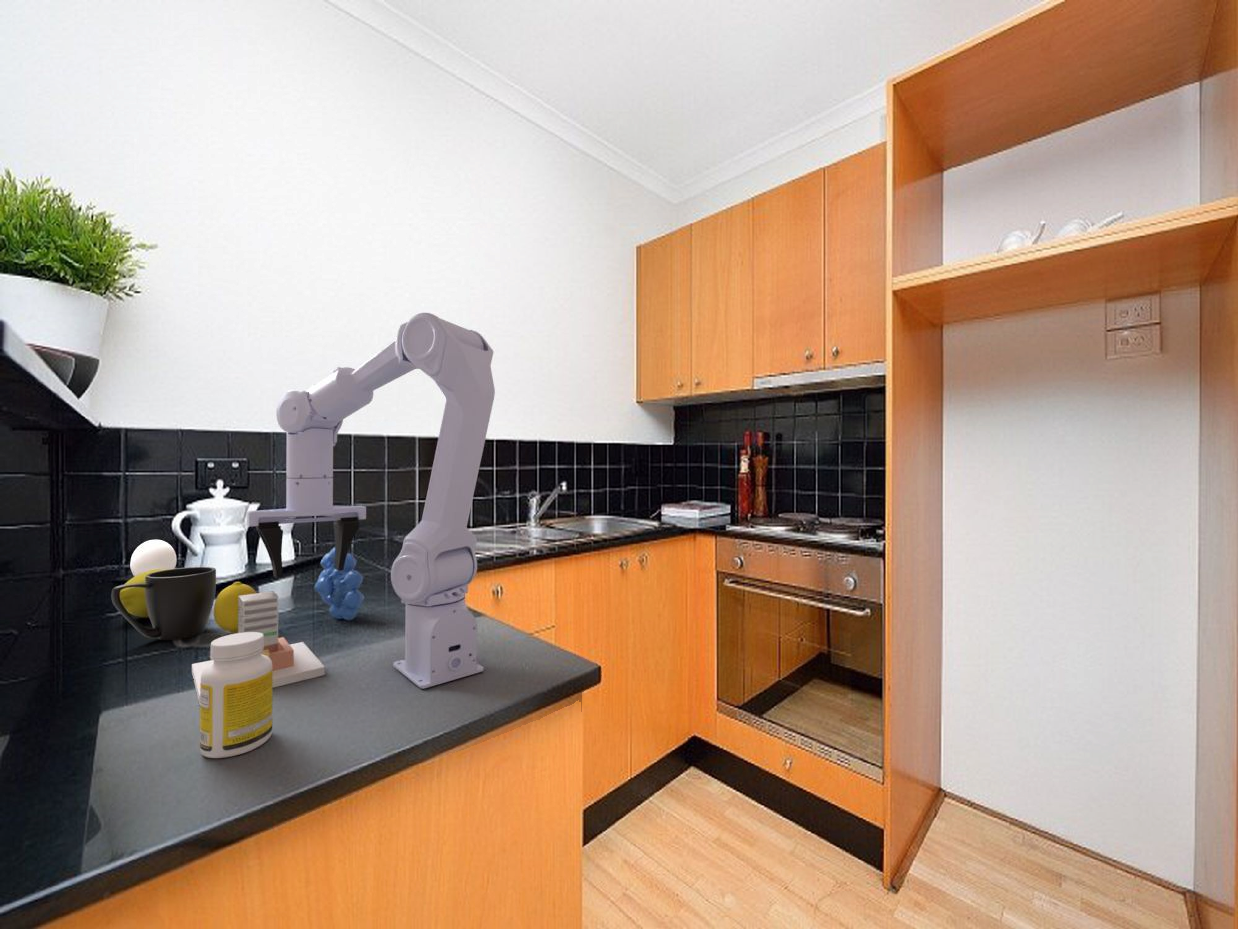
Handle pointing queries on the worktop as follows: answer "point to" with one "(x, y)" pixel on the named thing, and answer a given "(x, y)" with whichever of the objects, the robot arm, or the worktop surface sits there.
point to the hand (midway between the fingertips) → (309, 572)
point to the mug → (174, 602)
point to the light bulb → (152, 557)
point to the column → (259, 615)
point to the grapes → (340, 586)
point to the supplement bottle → (236, 696)
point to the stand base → (279, 664)
